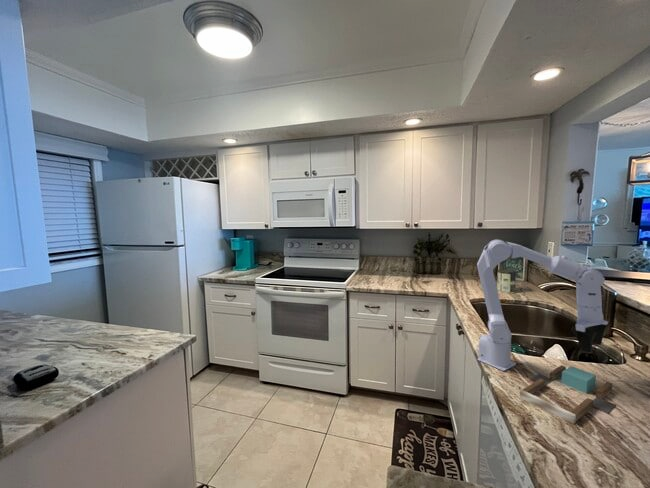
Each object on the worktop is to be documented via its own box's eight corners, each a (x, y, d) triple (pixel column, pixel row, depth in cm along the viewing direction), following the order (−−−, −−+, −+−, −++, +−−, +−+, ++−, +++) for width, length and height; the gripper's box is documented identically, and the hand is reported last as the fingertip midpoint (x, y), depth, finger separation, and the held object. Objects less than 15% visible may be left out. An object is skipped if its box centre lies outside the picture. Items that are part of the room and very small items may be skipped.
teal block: (561, 383, 88) (562, 371, 87) (570, 377, 90) (571, 366, 90) (586, 394, 82) (587, 381, 82) (595, 387, 85) (595, 375, 85)
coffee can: (511, 289, 192) (511, 269, 191) (518, 293, 182) (518, 272, 181) (494, 289, 194) (495, 269, 193) (500, 293, 184) (501, 272, 183)
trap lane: (509, 392, 84) (509, 385, 84) (550, 366, 97) (550, 361, 96) (589, 431, 68) (589, 424, 68) (626, 395, 81) (626, 388, 80)
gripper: (596, 313, 81) (598, 359, 82) (615, 302, 88) (617, 344, 88) (566, 308, 87) (568, 351, 88) (586, 298, 94) (588, 337, 95)
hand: (591, 347), depth 89 cm, fingers open, 7 cm apart
